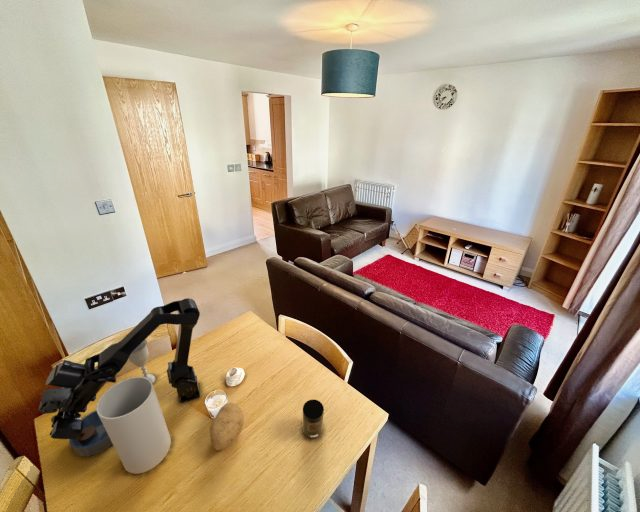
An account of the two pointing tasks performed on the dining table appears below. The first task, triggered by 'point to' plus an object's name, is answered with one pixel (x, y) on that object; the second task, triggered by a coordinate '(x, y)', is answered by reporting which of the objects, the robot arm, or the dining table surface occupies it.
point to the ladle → (83, 432)
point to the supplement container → (313, 418)
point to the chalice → (141, 359)
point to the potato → (226, 426)
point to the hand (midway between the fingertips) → (52, 430)
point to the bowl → (98, 441)
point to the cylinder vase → (135, 424)
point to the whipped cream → (234, 376)
